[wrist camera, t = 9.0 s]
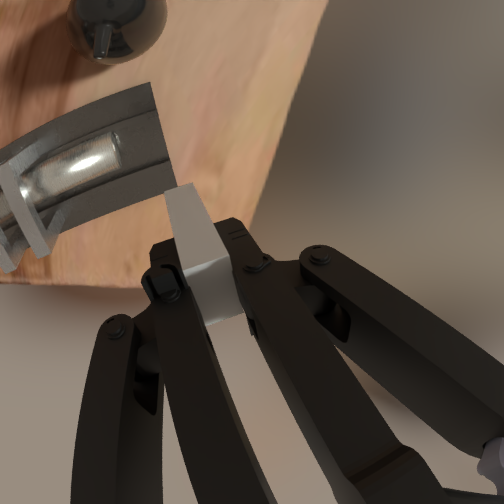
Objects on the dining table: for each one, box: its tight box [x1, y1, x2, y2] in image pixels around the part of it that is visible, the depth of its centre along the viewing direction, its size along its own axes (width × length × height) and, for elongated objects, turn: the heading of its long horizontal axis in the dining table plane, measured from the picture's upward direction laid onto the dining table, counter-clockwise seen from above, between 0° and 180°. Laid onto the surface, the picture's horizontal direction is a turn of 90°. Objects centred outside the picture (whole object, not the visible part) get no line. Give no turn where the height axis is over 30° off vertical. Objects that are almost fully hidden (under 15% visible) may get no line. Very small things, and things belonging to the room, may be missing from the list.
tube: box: [0, 132, 122, 225], centre depth 26 cm, size 18×4×4 cm, turn 100°
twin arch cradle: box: [0, 82, 178, 274], centre depth 26 cm, size 14×26×9 cm, turn 99°
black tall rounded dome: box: [66, 0, 168, 65], centre depth 17 cm, size 10×10×15 cm
